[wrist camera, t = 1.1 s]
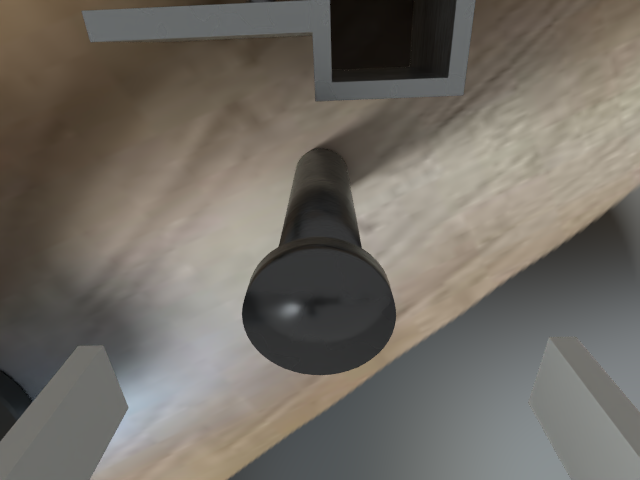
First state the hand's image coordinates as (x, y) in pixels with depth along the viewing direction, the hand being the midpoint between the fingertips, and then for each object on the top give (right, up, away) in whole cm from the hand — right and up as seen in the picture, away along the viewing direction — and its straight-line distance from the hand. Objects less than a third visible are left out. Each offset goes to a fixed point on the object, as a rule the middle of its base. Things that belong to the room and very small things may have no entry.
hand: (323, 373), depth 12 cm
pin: (0, +9, +17) cm, 20 cm away
